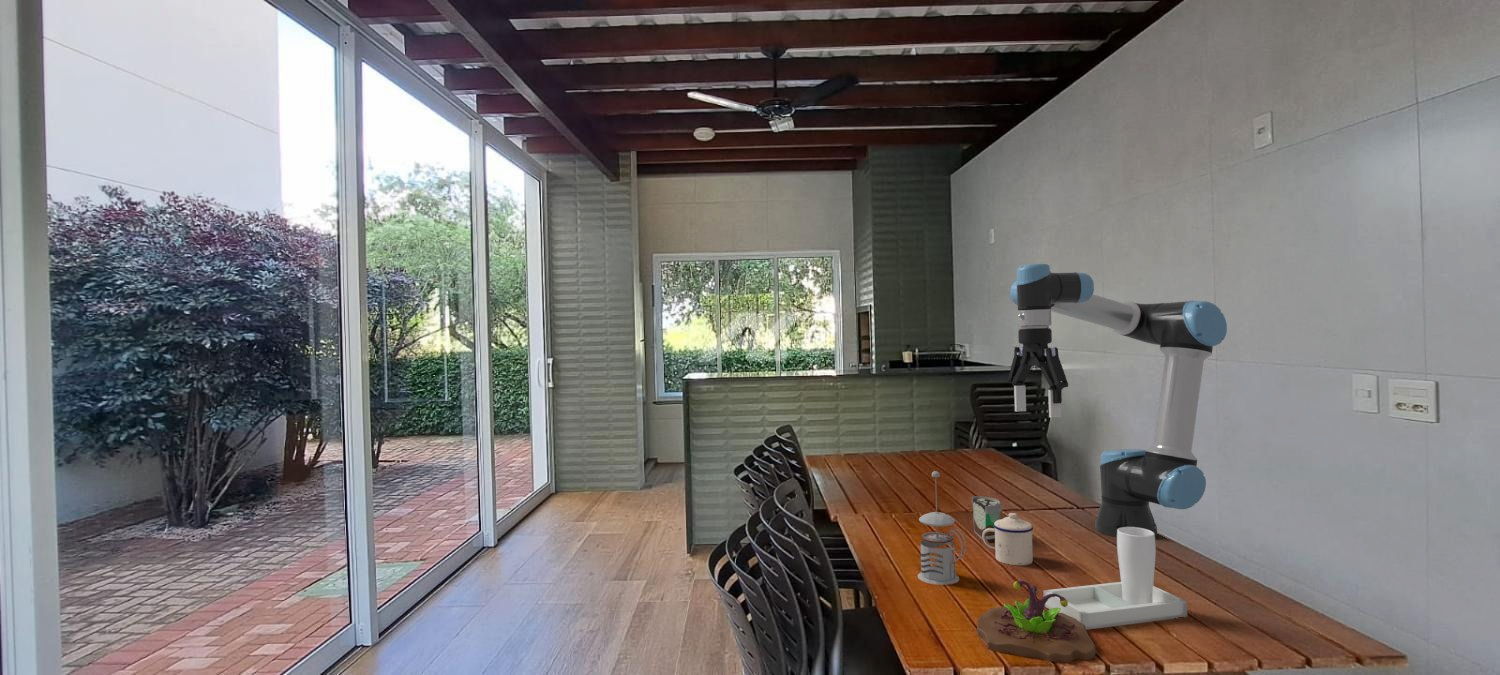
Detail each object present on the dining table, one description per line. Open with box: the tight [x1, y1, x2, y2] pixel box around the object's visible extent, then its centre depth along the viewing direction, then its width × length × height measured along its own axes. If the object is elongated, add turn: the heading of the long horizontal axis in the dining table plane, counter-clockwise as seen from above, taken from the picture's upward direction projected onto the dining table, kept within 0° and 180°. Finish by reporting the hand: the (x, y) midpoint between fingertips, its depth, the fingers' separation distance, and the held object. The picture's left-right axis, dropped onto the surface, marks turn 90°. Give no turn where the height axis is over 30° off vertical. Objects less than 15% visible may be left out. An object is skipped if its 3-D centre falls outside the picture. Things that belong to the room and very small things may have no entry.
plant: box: [976, 579, 1096, 664], centre depth 124 cm, size 20×20×11 cm
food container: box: [971, 495, 1003, 543], centre depth 186 cm, size 12×6×10 cm, turn 179°
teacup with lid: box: [982, 512, 1034, 567], centre depth 167 cm, size 12×9×12 cm
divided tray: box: [1042, 581, 1188, 631], centre depth 134 cm, size 23×12×4 cm, turn 101°
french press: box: [917, 470, 967, 586], centre depth 155 cm, size 10×12×25 cm
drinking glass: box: [1116, 527, 1157, 605], centre depth 135 cm, size 7×7×15 cm
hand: (1037, 414), depth 164 cm, fingers open, 13 cm apart
